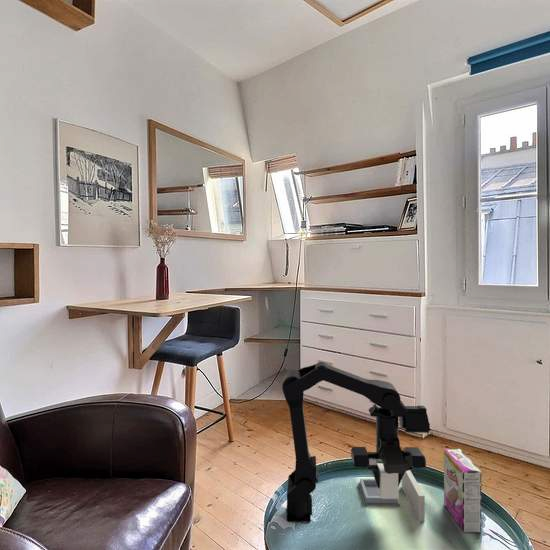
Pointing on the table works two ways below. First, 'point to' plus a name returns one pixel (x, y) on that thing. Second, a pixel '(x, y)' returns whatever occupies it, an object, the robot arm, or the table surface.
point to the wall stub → (414, 494)
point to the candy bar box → (462, 490)
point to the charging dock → (374, 494)
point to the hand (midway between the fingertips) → (387, 487)
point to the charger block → (387, 483)
